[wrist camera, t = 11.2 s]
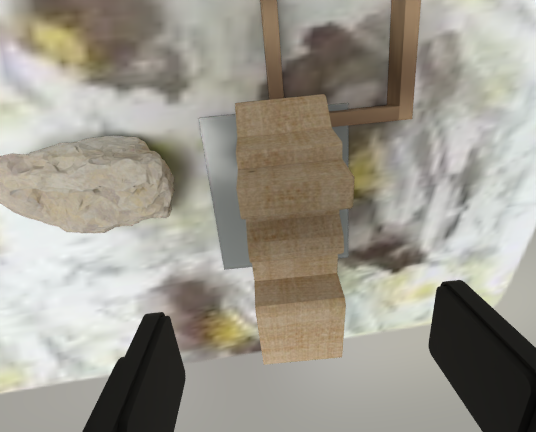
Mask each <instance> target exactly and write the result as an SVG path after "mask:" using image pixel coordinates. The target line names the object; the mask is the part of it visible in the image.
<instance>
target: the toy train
mask: <svg viewBox="0 0 536 432" xmlns="http://www.w3.org/2000/svg"><path fill="white" fill-rule="evenodd" d="M235 111H236V126H237V146H236V159H237V166H238V175H237V188H236V190H237V196H238V203H239V209H240V216H241V219H246V230H247V244H248V253H249V260H250V263H252V267H253V274H254V280H255V308H256V317H257V324H258V330H259V336H260V343H261V349H262V355H263V362H264V364H274V363H285V362H296V361H307V360H316V359H328V358H337V357H342V350H343V336H344V322H345V308H346V304H345V297H344V294H343V291H342V288H341V285H340V281H339V278H338V275H337V261H338V254H342V253H344V235H343V230H342V225H341V219H340V214H339V210H342V209H350V208H352V207H353V195H354V176H353V174H352V173H351V171H350V170H349V168H348V167H347V165H346V164H345V162H344V161H343V159H342V146H343V145H342V141H341V140H340V138H339V137H338V136H337V134H336V133H335V132H334V130H333V129H332V126H331V121H330V116H329V110H328V105H327V99H326V96H325V95H324V94H320V95H310V96H300V97H291V98H281V99H271V100H261V101H251V102H241V103H235Z"/></svg>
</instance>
